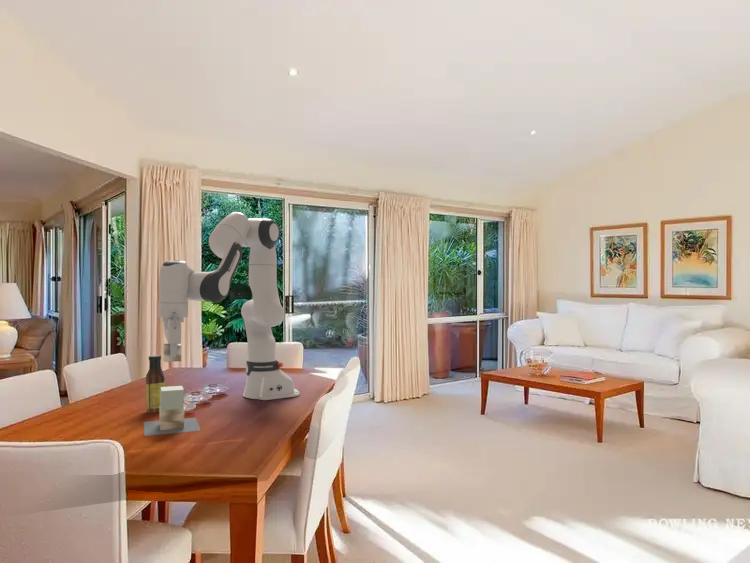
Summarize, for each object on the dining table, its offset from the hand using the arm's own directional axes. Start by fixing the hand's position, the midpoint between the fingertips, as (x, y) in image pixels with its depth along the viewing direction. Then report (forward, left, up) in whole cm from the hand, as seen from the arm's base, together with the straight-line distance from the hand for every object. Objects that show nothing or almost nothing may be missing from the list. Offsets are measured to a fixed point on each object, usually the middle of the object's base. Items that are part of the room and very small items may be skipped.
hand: (172, 355), depth 170 cm
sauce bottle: (+4, -23, -23) cm, 33 cm away
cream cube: (0, 0, -2) cm, 2 cm away
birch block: (0, 0, -23) cm, 23 cm away
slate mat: (0, 0, -23) cm, 23 cm away
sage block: (0, 0, -17) cm, 17 cm away
